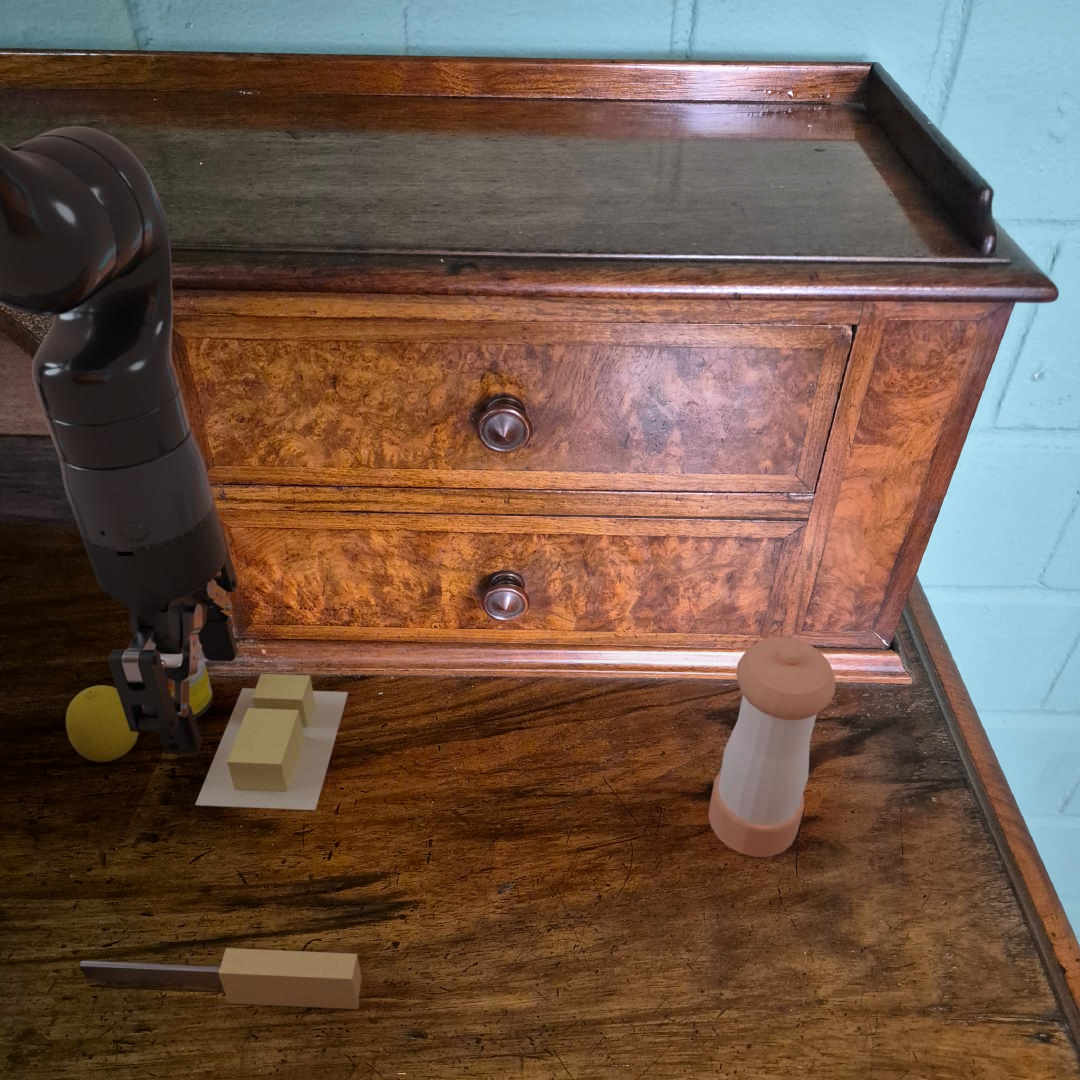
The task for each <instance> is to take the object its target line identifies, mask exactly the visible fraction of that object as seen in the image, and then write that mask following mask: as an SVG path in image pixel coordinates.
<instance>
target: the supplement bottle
mask: <svg viewBox="0 0 1080 1080" xmlns="http://www.w3.org/2000/svg"><path fill="white" fill-rule="evenodd" d="M159 654H160V653H159ZM160 657H161V660H165V662H166V665H180V664H181V662H182V654H160ZM206 665H207V664H206V662H205V657H204V653H203V649H202V646H201V642H200V639H199V638H198V671H197V674H196V675H195V676H194V677H192V678H191V679H190V681H189V706H191V709H192V712H193V715H194V718H195V719H197V718H198V717H201V716H202V715H203V714H204V713H205V712H207V710H208V709H210V706H211V705H212V704H213V703H212V702H213V698H214V692H213V688H212V685H211V682H210V677H209V673H208V670H207V666H206ZM167 682H168V686H169V689H170V693H171V696H172V697H174V681H173V680H172V679H167Z"/></svg>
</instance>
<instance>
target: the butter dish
mask: <svg viewBox="0 0 1080 1080" xmlns="http://www.w3.org/2000/svg"><path fill="white" fill-rule="evenodd" d="M254 691H255V688H251V687H250V688H249V687H242V688H241V691H240V693H239V696H238V698H237V700H236V703H235V705H234V708H233V710H232V712H231V715H230V718H229V720H228V722H227V725H226V728H225V730H224V732H223V735H222V737H221V740H220V743H219V745H218V747H217V749H216V752H215V755H214V757H213V760H212V762H211V765H210V767H209V770H208V773H207V774H206V777H205V779H204V782H203V784H202V787H201V789H200V792H199V794H198V797H197V799H196V801H195V803H194V805H195V806H201V807H226V808H227V807H228V808H253V809H276V810H277V809H278V810H297V811H298V810H301V811H316V810H317V807H318V803H319V800H320V795H321V792H322V789H323V784H324V781H325V777H326V774H327V770H328V767H329V763H330V760H331V757H332V753H333V749H334V745H335V741H336V738H337V734H338V731H339V727H340V725H341V720H342V717H343V713H344V709H345V706H346V703H347V698H348V695H349V692H348V691H331V690H330V691H329V690H327V691H326V690H313V694H314V699H315V704H314V708H313V711H312V714H311V717H310V720H309V724H308V726H302V729H303V734H304V739H303V743H302V746H301V749H300V752H299V755H298V759H297V762H296V765H295V768H294V771H293V774H292V778H291V781H290V784H289V787H288V790H287V791H267V790H242V789H234V786H233V782H232V779H231V775H230V771H229V768H228V764H227V760H228V758H229V755H230V753H231V750H232V747H233V745H234V742H235V740H236V737H237V735H238V732H239V729H240V727H241V724H242V722H243V719H244V717H245V714H246V711H247V709H248V708H254V704H253V700H252V696H253V693H254Z"/></svg>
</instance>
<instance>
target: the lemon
mask: <svg viewBox="0 0 1080 1080" xmlns="http://www.w3.org/2000/svg"><path fill="white" fill-rule="evenodd" d="M65 728H66V733H67V737H68V740H69V742H70V744H71V745H72V747H73V748H74V749H75V751H76V752H77V753H78V754H79V755H80V756H82V757H83V758H85V759H86V760H88V761H92V762H95V763H107V762H112V761H115V760H118V759H119V758H122V757H123V756H124V755H127V754H128V753H129V752H130V751H131V750H132V748H133V747H134V745H135V744H136V742H137V740H138V737H139V733H140V732H131V731H130V729H129V726H128V723H127V720H126V716H125V713H124V710H123V707H122V704H121V701H120V698H119V695H118V692H117V688H116V687H114V686H111V685H104V684H103V685H94V686H89V687H87V688H84V689H83V690H81V691H80V692H79V693H78V694H76V696H74V698H73V699H72V700H71V701H70V703H69V705H68V707H67V710H66V715H65Z"/></svg>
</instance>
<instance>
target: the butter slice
mask: <svg viewBox="0 0 1080 1080" xmlns="http://www.w3.org/2000/svg"><path fill="white" fill-rule="evenodd" d="M254 689H255V691H254V693H253V696H252V700H253V704H254V708H258V709H284V710H299V713H300V719H301V724H302V726H308V724H309V720H310V717H311V714H312V711H313V708H314V704H315V699H314V694H313V691H314V688H313V683H312V678H311V675H308V674H307V675H306V674H305V675H304V674H282V673H281V674H280V673H279V674H278V673H261V674H260V675H259V678H258V681H257V683H256V685H255V688H254Z"/></svg>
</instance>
